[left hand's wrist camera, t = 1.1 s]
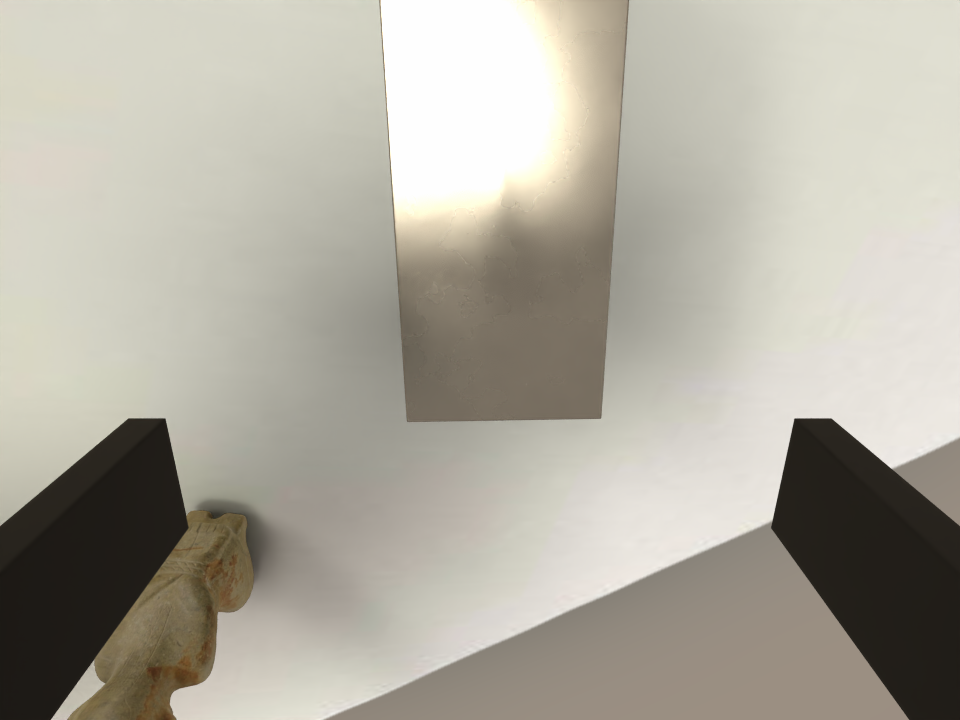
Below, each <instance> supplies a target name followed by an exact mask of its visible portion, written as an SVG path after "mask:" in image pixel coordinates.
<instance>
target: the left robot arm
mask: <svg viewBox="0 0 960 720" xmlns="http://www.w3.org/2000/svg"><path fill="white" fill-rule="evenodd" d="M188 528H189V526H188V522H187V517H186V512H185V508H184V503H183V498H182V494H181V489H180V484H179V480H178V475H177V470H176V466H175V461H174V456H173V452H172V447H171V442H170V438H169V433H168V428H167V424H166V419H127V420H126V421H125V422H124V423H123V424H122V425H120V426H119V427H118V428H117V429H116V430H114V431H113V432H112V433H111V434H110V435H108V436H107V437H106V438H105V439H104V440H102V441H101V442H100V443H99V444H98V445H96V446H95V447H94V448H93V449H92V450H90V451H89V452H88V453H87V454H86V455H85V456H83V457H82V458H81V459H80V460H79V461H77V462H76V463H75V464H74V465H73V466H71V467H70V468H69V469H68V470H67V471H65V472H64V473H63V474H62V475H61V476H59V477H58V478H57V479H56V480H55V481H54V482H52V483H51V484H50V485H49V486H48V487H46V488H45V489H44V490H43V491H42V492H40V493H39V494H38V495H37V496H36V497H34V498H33V499H32V500H31V501H30V502H28V503H27V504H26V505H25V506H24V507H23V508H21V509H20V510H19V511H18V512H17V513H15V514H14V515H13V516H12V517H11V518H9V519H8V520H7V521H6V522H5V523H3V524H2V525H1V526H0V720H51V719H52V717H53V716H54V714H55V713H56V712H57V710H58V709H59V708H60V706H61V705H62V703H63V702H64V701H65V699H66V698H67V696H68V695H69V694H70V692H71V691H72V689H73V688H74V687H75V685H76V684H77V683H78V681H79V680H80V678H81V677H82V676H83V674H84V673H85V671H86V670H87V669H88V667H89V666H90V664H91V663H92V662H93V660H94V659H95V658H96V656H97V655H98V653H99V652H100V651H101V649H102V648H103V646H104V645H105V644H106V642H107V641H108V639H109V638H110V637H111V635H112V634H113V633H114V631H115V630H116V628H117V627H118V626H119V624H120V623H121V621H122V620H123V619H124V617H125V616H126V615H127V613H128V612H129V610H130V609H131V608H132V606H133V605H134V603H135V602H136V601H137V599H138V598H139V596H140V595H141V594H142V592H143V591H144V590H145V588H146V587H147V585H148V584H149V583H150V581H151V580H152V578H153V577H154V576H155V574H156V573H157V571H158V570H159V569H160V567H161V566H162V565H163V563H164V562H165V560H166V559H167V558H168V556H169V555H170V553H171V552H172V551H173V549H174V548H175V547H176V545H177V544H178V542H179V541H180V540H181V538H182V537H183V535H184V534H185V533H186V531H187V530H188ZM771 528H772V530H773V531H774V533H775V534H776V535H777V537H778V538H779V540H780V541H781V542H782V544H783V545H784V546H785V548H786V549H787V551H788V552H789V553H790V555H791V556H792V558H793V559H794V560H795V562H796V563H797V565H798V566H799V567H800V569H801V570H802V571H803V573H804V574H805V576H806V577H807V578H808V580H809V581H810V582H811V584H812V585H813V587H814V588H815V589H816V591H817V592H818V594H819V595H820V596H821V598H822V599H823V601H824V602H825V603H826V605H827V606H828V608H829V609H830V610H831V612H832V613H833V614H834V616H835V617H836V619H837V620H838V621H839V623H840V624H841V626H842V627H843V628H844V630H845V631H846V632H847V634H848V635H849V637H850V638H851V639H852V641H853V642H854V644H855V645H856V646H857V648H858V649H859V651H860V652H861V653H862V655H863V656H864V657H865V659H866V660H867V662H868V663H869V664H870V666H871V667H872V669H873V670H874V671H875V673H876V674H877V676H878V677H879V678H880V680H881V681H882V683H883V684H884V685H885V687H886V688H887V689H888V691H889V692H890V694H891V695H892V696H893V698H894V699H895V701H896V702H897V703H898V705H899V706H900V707H901V709H902V710H903V712H904V713H905V714H906V716H907V717H908V719H909V720H960V526H959V525H958V524H957V523H955V522H954V521H953V520H952V519H951V518H949V517H948V516H947V515H946V514H945V513H943V512H942V511H941V510H940V509H939V508H937V507H936V506H935V505H934V504H933V503H931V502H930V501H929V500H928V499H927V498H926V497H924V496H923V495H922V494H921V493H920V492H918V491H917V490H916V489H915V488H914V487H912V486H911V485H910V484H909V483H908V482H906V481H905V480H904V479H903V478H902V477H900V476H899V475H898V474H897V473H896V472H895V471H893V470H892V469H891V468H890V467H889V466H887V465H886V464H885V463H884V462H883V461H881V460H880V459H879V458H878V457H877V456H875V455H874V454H873V453H872V452H871V451H870V450H868V449H867V448H866V447H865V446H864V445H862V444H861V443H860V442H859V441H858V440H856V439H855V438H854V437H853V436H852V435H850V434H849V433H848V432H847V431H846V430H844V429H843V428H842V427H841V426H840V425H838V424H837V423H836V422H835V421H834V420H833V419H794V424H793V428H792V433H791V438H790V442H789V447H788V452H787V456H786V461H785V466H784V470H783V475H782V480H781V484H780V489H779V494H778V498H777V503H776V508H775V512H774V517H773V522H772V526H771Z"/></svg>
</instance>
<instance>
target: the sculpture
mask: <svg viewBox="0 0 960 720" xmlns="http://www.w3.org/2000/svg"><path fill="white" fill-rule="evenodd" d="M186 517H187V522H188V526H189V528H188V530H187V531H186V533H185V534H184V535H183V537H182V538H181V540H180V541H179V542H178V544H177V545H176V547H175V548H174V549H173V551H172V552H171V553H170V555H169V556H168V558H167V559H166V560H165V562H164V563H163V565H162V566H161V567H160V569H159V570H158V571H157V573H156V574H155V576H154V577H153V578H152V580H151V581H150V583H149V584H148V585H147V587H146V588H145V590H144V591H143V592H142V594H141V595H140V596H139V598H138V599H137V601H136V602H135V603H134V605H133V606H132V608H131V609H130V610H129V612H128V613H127V615H126V616H125V617H124V619H123V620H122V621H121V623H120V624H119V626H118V627H117V628H116V630H115V631H114V633H113V634H112V635H111V637H110V638H109V639H108V641H107V642H106V644H105V645H104V646H103V648H102V649H101V651H100V652H99V653H98V655H97V656H96V658H95V671H96V673H97V676H98V678H99V679H100V680H101V681H102V682H104V683H106V684H105V685H104V686H103V687H102V688H101V689H100V690H99V691H98V692H97V693H96V694H94V695H93V696H92V697H91V698H90V699H89V700H87V701H86V702H85V703H84V704H82V705H81V706H80V707H79V708H77V709H76V710H75V711H74V712H73V713H72V714H71V715H70V717H69V718H68V719H67V720H176V718H175V716H174V715H173V711H172V709H171V706H170V697H171V695H172V693H173V692H174V691H175V690H177V689H179V688H184V687H188V686H193V685H197V684H199V683H202V682H203V681H205V680H206V679H207V678H208V676H209V675H210V673H211V671H212V668H213V664H214V660H215V652H216V633H217V614H218V612H235V611H237V610H239V609H240V608H241V607H242V606H243V605H244V604H245V603H246V602H247V600H248V598H249V597H250V594H251V591H252V588H253V582H254V572H253V566H252V561H251V556H250V553H249V550H248V547H247V543H246V528H247V519H246V517H245V516H244V515H240V514H234V513H225V514H223V515H222V516H221V517H219V518H216V519H213V516H212V514H211V513H210V512H209V511H202V510H200V511H191V512H189V513H188V515H187V516H186Z"/></svg>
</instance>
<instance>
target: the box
mask: <svg viewBox="0 0 960 720" xmlns="http://www.w3.org/2000/svg"><path fill="white" fill-rule="evenodd" d="M379 3H380V19H381V34H382V49H383V64H384V79H385V95H386V110H387V125H388V140H389V156H390V171H391V186H392V201H393V216H394V232H395V247H396V262H397V277H398V292H399V308H400V323H401V338H402V353H403V369H404V384H405V399H406V414H407V422H431V421H489V420H548V419H600V418H601V414H602V399H603V384H604V369H605V354H606V339H607V324H608V309H609V294H610V279H611V263H612V248H613V233H614V218H615V203H616V188H617V173H618V158H619V143H620V128H621V113H622V98H623V83H624V68H625V53H626V38H627V23H628V8H629V0H379Z"/></svg>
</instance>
